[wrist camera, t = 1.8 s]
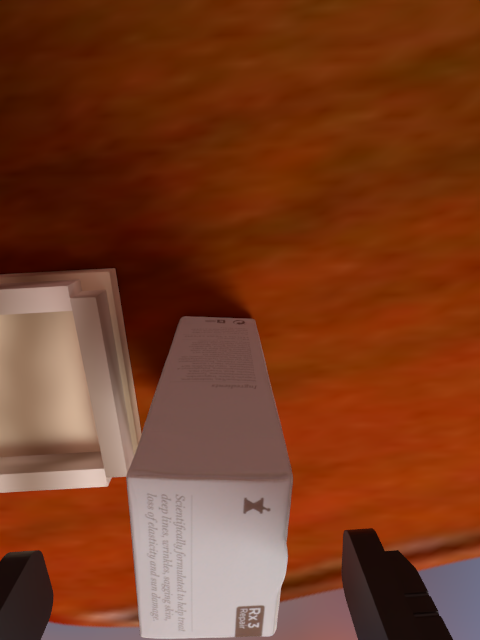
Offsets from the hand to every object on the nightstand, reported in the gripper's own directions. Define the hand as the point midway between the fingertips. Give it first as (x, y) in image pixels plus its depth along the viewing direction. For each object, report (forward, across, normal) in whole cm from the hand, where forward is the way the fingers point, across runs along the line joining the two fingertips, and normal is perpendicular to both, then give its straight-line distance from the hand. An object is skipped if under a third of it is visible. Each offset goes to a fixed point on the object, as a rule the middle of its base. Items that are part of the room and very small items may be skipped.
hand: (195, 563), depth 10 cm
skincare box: (+12, 0, 0) cm, 12 cm away
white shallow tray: (+12, +10, 0) cm, 15 cm away
